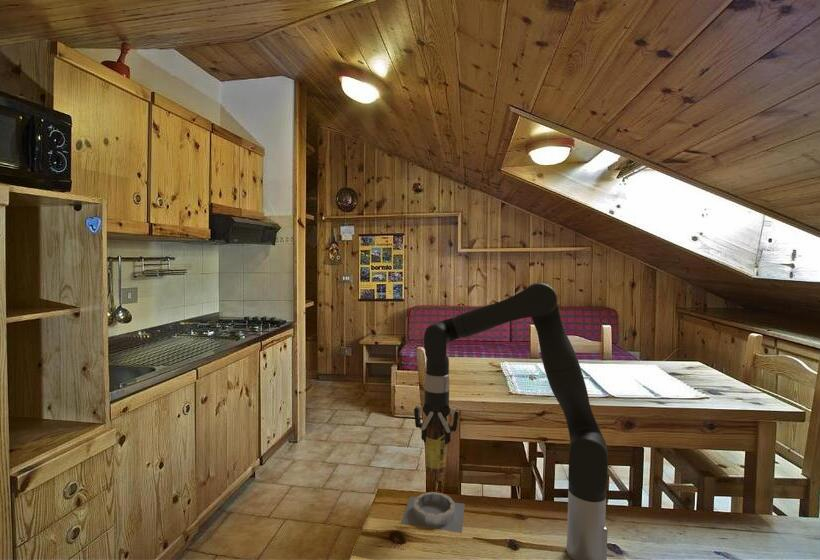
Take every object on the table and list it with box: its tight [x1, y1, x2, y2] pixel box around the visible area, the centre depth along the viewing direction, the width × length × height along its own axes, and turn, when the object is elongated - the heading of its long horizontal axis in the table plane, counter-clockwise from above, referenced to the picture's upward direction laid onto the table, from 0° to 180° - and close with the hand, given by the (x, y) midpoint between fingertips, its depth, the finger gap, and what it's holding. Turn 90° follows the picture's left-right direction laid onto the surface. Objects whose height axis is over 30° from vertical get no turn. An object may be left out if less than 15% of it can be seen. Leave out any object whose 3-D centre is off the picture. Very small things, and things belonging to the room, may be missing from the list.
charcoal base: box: [400, 496, 466, 534], centre depth 120 cm, size 18×14×1 cm
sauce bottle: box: [424, 407, 447, 475], centre depth 120 cm, size 7×6×20 cm
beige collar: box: [413, 491, 456, 527], centre depth 120 cm, size 12×12×3 cm
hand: (435, 442), depth 120 cm, fingers closed on sauce bottle, 6 cm apart
